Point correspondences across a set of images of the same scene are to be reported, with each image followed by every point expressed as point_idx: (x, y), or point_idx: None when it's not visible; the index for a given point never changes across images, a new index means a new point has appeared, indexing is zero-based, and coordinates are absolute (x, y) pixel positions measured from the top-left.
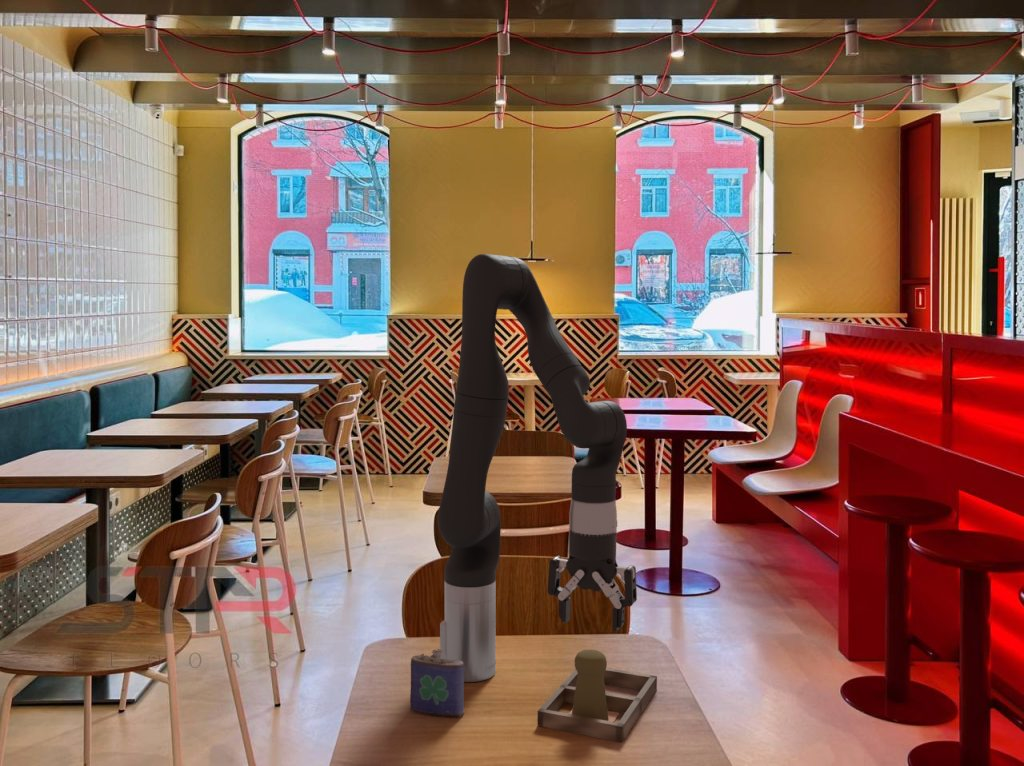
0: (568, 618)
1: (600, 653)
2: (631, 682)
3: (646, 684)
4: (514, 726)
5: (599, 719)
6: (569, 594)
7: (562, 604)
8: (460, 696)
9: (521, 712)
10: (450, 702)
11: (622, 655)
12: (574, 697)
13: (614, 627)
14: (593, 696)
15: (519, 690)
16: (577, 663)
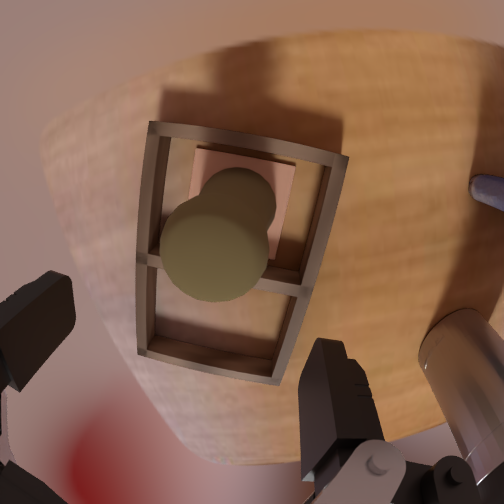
0: (307, 374)
1: (173, 266)
2: (182, 348)
3: (143, 323)
4: (384, 148)
5: (200, 139)
6: (310, 496)
7: (359, 418)
8: (494, 185)
9: (378, 212)
10: (499, 179)
11: (224, 428)
12: (268, 208)
13: (50, 276)
14: (213, 185)
15: (385, 303)
16: (253, 216)
